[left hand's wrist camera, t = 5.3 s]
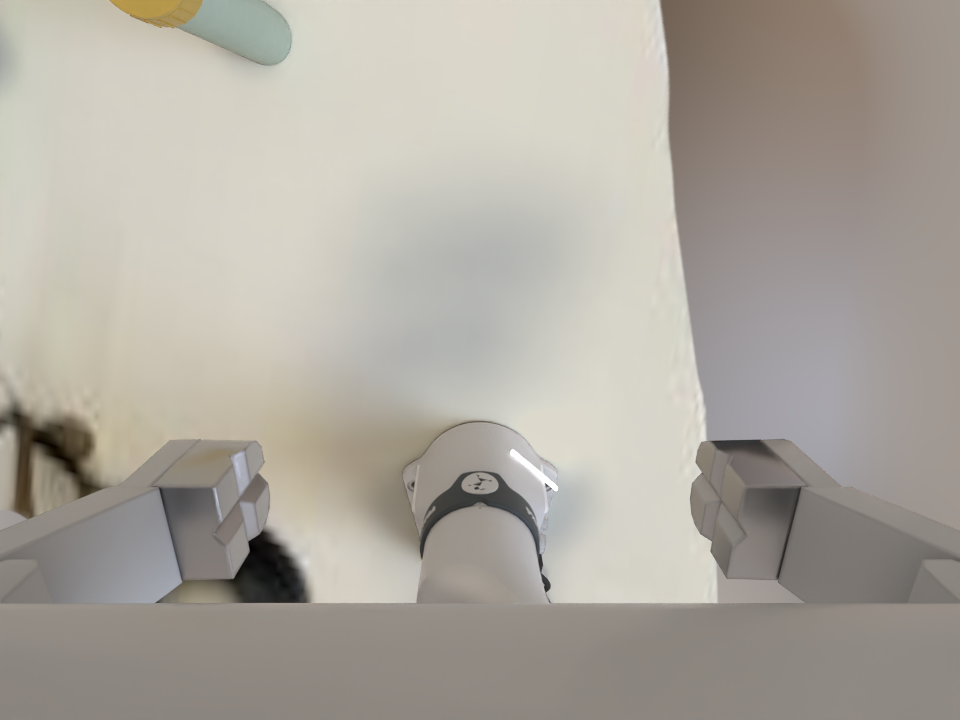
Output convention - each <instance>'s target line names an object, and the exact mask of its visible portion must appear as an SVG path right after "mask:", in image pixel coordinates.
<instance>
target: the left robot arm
mask: <svg viewBox="0 0 960 720" xmlns="http://www.w3.org/2000/svg"><path fill="white" fill-rule="evenodd" d="M263 464H264V457H263V452H262V447H261V445H260V444H259V443H258V442H257V441H244V440H201V439H187V440H170V441H169V442H168V443H167V444H165V445H164V446H163V447H162V448H161V449H160V450H159V451H158V452H156V453H155V454H154V455H153V456H152V457H151V458H150V459H149V460H148V461H146V462H145V463H144V464H143V465H142V466H141V467H140V468H139V469H137V470H136V471H135V472H134V473H133V474H132V475H131V476H130V477H128V478H127V479H126V480H125V481H124V482H123V483H122V484H121V485H120V486H118V487H107V488H105V489H102V490H100V491H98V492H95V493H93V494H90V495H88V496H85V497H83V498H80V499H78V500H75V501H73V502H70V503H68V504H65V505H63V506H60V507H58V508H55V509H53V510H50V511H48V512H45V513H43V514H40V515H38V516H35V517H33V518H30V519H28V520H25V521H23V522H20V523H18V524H15V525H13V526H10V527H8V528H5V529H3V530H1V531H0V720H960V531H959V530H957V529H954V528H952V527H949V526H947V525H944V524H942V523H939V522H937V521H934V520H932V519H930V518H927V517H925V516H922V515H920V514H917V513H915V512H912V511H910V510H907V509H905V508H902V507H900V506H897V505H895V504H892V503H890V502H887V501H885V500H882V499H880V498H877V497H875V496H872V495H870V494H867V493H865V492H862V491H860V490H857V489H855V488H853V487H842V486H840V485H839V484H838V483H837V482H836V481H835V480H834V479H833V478H832V477H830V476H829V475H828V474H827V473H826V472H825V471H824V470H823V469H822V468H820V467H819V466H818V465H817V464H816V463H815V462H814V461H813V460H811V459H810V458H809V457H808V456H807V455H806V454H805V453H804V452H803V451H801V450H800V449H799V448H798V447H797V446H796V445H795V444H794V443H792V442H791V441H789V440H785V439H773V440H726V441H705V442H701V444H700V446H699V448H698V451H697V456H696V464H697V465H698V467H699V469H700V470H701V472H702V473H701V474H700V475H699V476H698V477H697V478H696V480H695V481H694V482H693V483H692V487H691V495H690V504H691V514H692V517H693V520H694V523H695V525H696V527H697V529H698V531H699V533H700V534H701V535H703V536H704V537H706V538H708V539H709V540H711V541H712V545H711V553H712V555H713V556H714V558H715V560H716V561H717V563H718V565H719V566H720V568H721V570H722V571H723V573H724V575H725V576H726V578H727V579H756V580H778V583H779V584H781V585H782V586H783V587H785V588H786V589H787V590H789V591H790V592H791V593H793V594H794V595H795V596H797V597H798V598H799V599H801V600H802V601H804V602H805V603H550V601H549V599H548V597H547V595H546V592H547V591H548V590H549V589H550V586H551V585H550V582H549V581H548V579H547V578H546V577H545V576H544V575H543V574H542V573H541V571H542V567H543V562H542V556H541V554H543V553H544V551H545V544H546V538H545V535H544V534H541V533H542V530H546V529H547V526H548V518H546V516H547V512H548V509H549V505H550V502H551V498H552V495H553V491H554V490H555V491H557V490H558V488H557V486H556V481H557V470H556V469H555V467H554V466H552V465H551V464H549V463H548V462H546V461H545V460H543V459H541V458H539V457H538V456H537V455H536V453H535V452H534V451H533V449H532V448H531V447H530V445H529V444H528V443H527V442H526V441H525V440H524V439H523V438H522V437H521V436H520V435H519V434H517V433H516V432H514V431H512V430H511V429H509V428H506V427H504V426H501V425H498V424H493V423H487V422H474V423H467V424H462V425H459V426H456V427H454V428H451V429H449V430H448V431H446V432H444V433H443V434H441V435H440V436H439V437H438V438H437V439H436V440H435V441H434V442H433V443H432V444H431V445H430V447H429V448H428V449H427V451H426V452H425V454H424V455H423V456H422V457H421V458H419V459H417V460H415V461H414V462H412V463H411V464H409V465H408V466H406V467H405V469H404V471H403V481H404V484H405V488H406V491H407V495H408V498H409V502H410V505H411V509H412V512H413V515H414V519H415V522H416V526H417V529H418V533H419V536H420V541H421V543H420V553H421V559H422V566H421V573H420V580H419V587H418V594H417V603H155V602H157V601H158V600H159V599H161V598H162V597H163V596H165V595H166V594H167V593H169V592H170V591H171V590H173V589H174V588H175V587H177V586H178V585H180V584H181V583H182V580H203V579H233V578H234V577H235V575H236V573H237V571H238V570H239V568H240V566H241V565H242V563H243V561H244V560H245V558H246V556H247V555H248V553H249V545H248V541H249V540H251V539H252V538H254V537H256V536H257V535H259V534H260V533H261V531H262V529H263V527H264V525H265V523H266V520H267V516H268V512H269V508H270V493H269V487H268V483H267V482H266V481H265V480H264V478H263V477H262V476H261V475H260V474H259V473H258V472H259V470H260V469H261V467H262V465H263ZM412 482H415V484H413V483H412ZM545 482H546V483H547V484H545ZM543 583H544V585H545V586H543Z"/></svg>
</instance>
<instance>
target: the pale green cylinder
mask: <svg viewBox="0 0 960 720" xmlns="http://www.w3.org/2000/svg"><path fill="white" fill-rule="evenodd" d="M176 27H177V28H179V29H181V30H183V31H186V32H188V33H190V34H193V35H195V36H197V37H200V38H202V39H204V40H207V41H209V42H211V43H213V44H216V45H218V46H220V47H223V48H225V49H227V50H230V51H232V52H234V53H237V54H239V55H241V56H243V57H246V58H248V59H250V60H253V61H255V62H257V63H260V64H263V65H275V64H277V63H279V62H281V61H282V60H283V59H284V58H285V57H286V56H287V54H288V52H289V50H290V46H291V32H290V29H289V26H288V24H287V22H286V20H285V19H284V17H283V16H282V15H281V14H280V13H279V12H278V11H276V10H275V9H274V8H272V7H271V6H270V5H268V4H267V3H265V2H264V1H263V0H203V2H202V6H201V7H200V9H199V10H198V12H197V13H196V15H195V17H193V18H192V19H191V20H189V21H188V22H186V24H185V25H184V24H182V25H180V26H176Z"/></svg>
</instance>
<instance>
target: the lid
mask: <svg viewBox="0 0 960 720" xmlns="http://www.w3.org/2000/svg"><path fill="white" fill-rule="evenodd" d="M110 1H111V2H112V3H113V4H114V5H115V6H117V7H118V8H119V9H121V10H122V11H124V12H126V13H128V14H130V16H131V17H134V18H136V19H139V20H141V21H143V22H146V23H150V24H153V25H155V26H157V27H160V28H162V27H171V28H174V27H176V26H180V25H182V24H184V25H185V24H186V22H188V21H189V20H191V19H192V18H193V17H195V15H196V13H197V12H198V10H199V9H200V7H201V6H202V2H203V0H110Z"/></svg>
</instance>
